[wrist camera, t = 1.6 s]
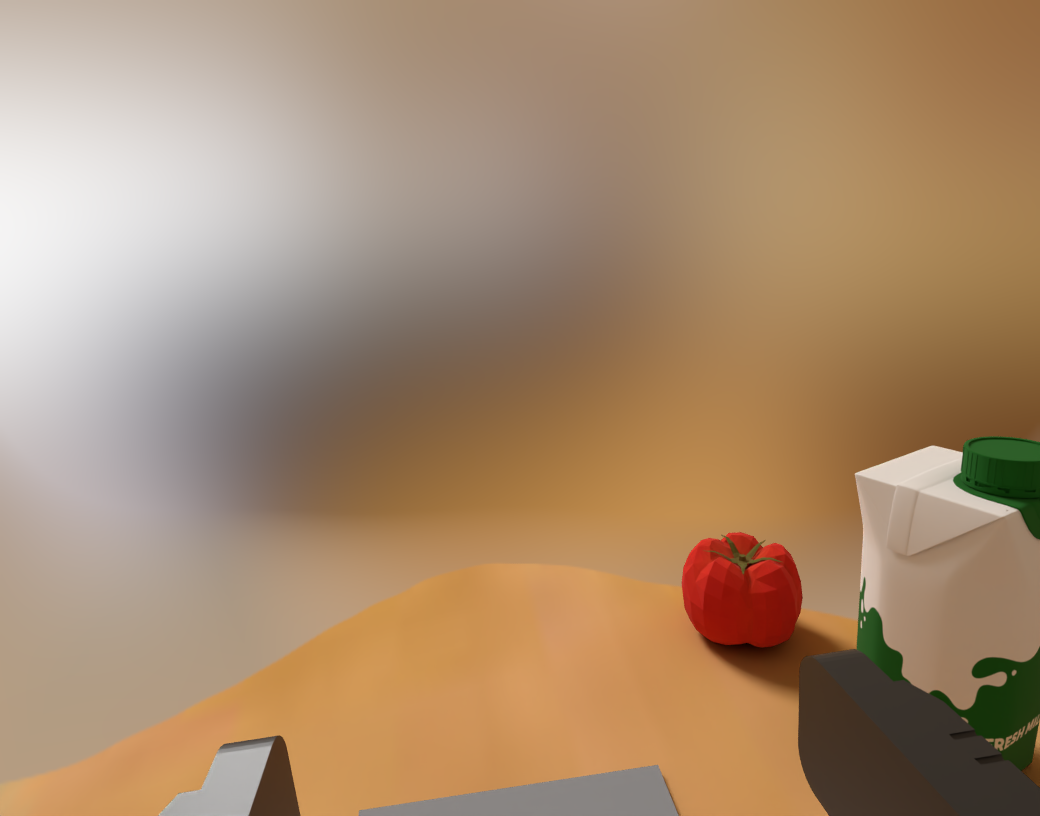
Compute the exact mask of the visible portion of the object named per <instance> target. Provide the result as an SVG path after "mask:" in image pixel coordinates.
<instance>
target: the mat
mask: <svg viewBox="0 0 1040 816" xmlns="http://www.w3.org/2000/svg"><path fill="white" fill-rule="evenodd" d="M359 816H679V815H678V813H677V811H676V808H675V806H674V803H673V801H672V798H671V796H670V793H669V791H668V788H667V786H666V784H665V781H664V779H663V776H662V774H661V771H660V769H659V766H658V765H654V766H648V767H641V768H635V769H628V770H621V771H615V772H608V773H602V774H595V775H589V776H582V777H576V778H569V779H563V780H556V781H549V782H543V783H536V784H530V785H523V786H517V787H510V788H504V789H497V790H490V791H484V792H477V793H471V794H464V795H458V796H451V797H445V798H438V799H432V800H425V801H418V802H412V803H405V804H399V805H392V806H386V807H379V808H373V809H366V810H359Z"/></svg>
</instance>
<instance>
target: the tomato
mask: <svg viewBox="0 0 1040 816" xmlns="http://www.w3.org/2000/svg"><path fill="white" fill-rule="evenodd" d="M722 536H723V535H722ZM763 542H764V541H763ZM763 542H760V543H758V541H757V540H756V539H755V538H754V536H750V535H748V534H744V533H741V532H740V533H728V534H727V535H726V536H724V538H723V539H722V540H721V541H720V540H718V539H712V538H708V539H704V540H701V541H700V542H699V543H698V544H697V545H696V546H695V547H694V549H693V550H692V551H691V552H690V554H689V556H688V558H687V560H686V563H685V565H684V568H683V576H682V590H683V598H684V606H685V610H686V612H687V614H688V616H689V618H690V620H691V622H692V624H693V625H694V627H695V628H696V630H697V631H699V632H700V633H701V634H702V635H703V636H705V637H706V638H708V639H709V640H711V641H712V642H716V643H720V644H724V645H735V644H743V643H750V644H751V645H753V646H756V647H773V646H775V645H778V644H780V643H783V642H785V641H787V640H789V638H790V636H791V635H792V633H793V631H794V627H795V623H796V621H797V619H798V617H799V614H800V611H801V604H802V589H801V581H800V578H799V575H798V571H797V568H796V565H795V563H794V560H793V558H792V556H791V554H790V553H789V552H788V551H787V550H786V549H785V548H784V547H783V546H782V545H780V544H777V543H773V544H771V545H767V546H765V547H764V548H763V547H762V546H761V544H762V543H763Z"/></svg>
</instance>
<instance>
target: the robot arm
mask: <svg viewBox="0 0 1040 816" xmlns="http://www.w3.org/2000/svg"><path fill="white" fill-rule="evenodd" d="M798 748H799V755H800V760H801V764H802V767H803V771H804V773H805V776H806V779H807V781H808V783H809V785H810V787H811V789H812V791H813V793H814V794H815V796H816V797H817V799H818V800H819V802H820V803H821V805H822V806H823V807H824V809H825V810H826V812H827V813H828V815H829V816H1040V788H1039V787H1038V786H1037V785H1036V784H1035V783H1034V782H1033V781H1031V780H1030V779H1029V778H1028V777H1027V776H1026V775H1025V774H1024V773H1023V772H1021V771H1020V770H1019V769H1018V768H1017V767H1016V766H1015V765H1014V764H1013V763H1011V762H1010V761H1009V760H1006V761H1005V760H1004V759H1003V757H1002V754H1001V753H1000V752H999V751H998V750H997V749H996V748H995V747H994V746H993V745H991V744H990V743H989V742H988V741H987V740H986V739H985V738H984V737H982V736H977V735H976V733H975V729H974V728H972V727H971V726H970V725H969V724H968V723H967V722H966V721H965V720H964V719H962V718H961V717H960V716H959V715H958V714H957V713H956V712H955V711H954V710H952V709H951V708H950V707H949V706H948V705H947V704H946V703H945V702H944V701H942V700H940V699H938V698H936V697H934V696H932V695H931V694H929V693H927V692H925V691H923V690H921V689H919V688H918V687H916V686H914V685H912V684H910V683H908V682H906V681H905V680H900V681H894V682H893V681H892V680H891V679H890V678H889V677H888V676H887V675H886V674H885V673H884V672H883V671H882V670H881V669H880V668H879V667H878V666H877V665H876V664H875V663H874V662H872V661H871V660H870V659H869V658H868V657H867V656H866V655H865V654H864V653H863V652H861V651H859V650H856V649H852V650H845V651H839V652H832V653H826V654H819V655H812V656H806V657H804V658H803V660H802V662H801V665H800V676H799V730H798ZM158 816H300V812H299V807H298V802H297V797H296V792H295V787H294V782H293V777H292V772H291V767H290V762H289V757H288V752H287V747H286V744H285V741H284V739H283V738H282V737H281V736H273V737H267V738H260V739H254V740H247V741H241V742H234V743H228V744H224V745H222V746H221V747H220V749H219V750H218V752H217V754H216V756H215V759H214V761H213V763H212V765H211V768H210V770H209V772H208V775H207V777H206V779H205V781H204V784H203V786H202V788H201V790H197V791H191V792H184V793H179V794H178V795H177V796H176V797H175V798H174V799H173V800H172V801H171V802H170V803H169V804H168V806H167V807H166V808H165V809H164V810H163V811H162V812H161V813H160V814H159V815H158Z"/></svg>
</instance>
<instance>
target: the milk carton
mask: <svg viewBox="0 0 1040 816" xmlns="http://www.w3.org/2000/svg"><path fill="white" fill-rule="evenodd" d="M855 477H856V483H857V489H858V494H859V501H860V508H861V513H862V521H863V532H864V533H863V550H862V566H861V585H860V601H859V618H858V635H857V650H859V651H861V652H863V653H864V654H865V655H866V656H867V657H868V658H869V659H870V660H871V661H872V662H874V663H875V664H876V665H877V666H878V667H879V668H880V669H881V670H882V671H883V672H884V673H885V674H886V675H887V676H888V677H889V678H890V679H891V680H892V681H893V682H894V681H900V680H905V681H906V682H908V683H910V684H912V685H914V686H916V687H918V688H919V689H921V690H923V691H925V692H927V693H929V694H931V695H932V696H934V697H936V698H938V699H940V700H942V701H944V702H945V703H946V704H947V705H948V706H949V707H950V708H951V709H952V710H954V711H955V712H956V713H957V714H958V715H959V716H960V717H961V718H962V719H964V720H965V721H966V722H967V723H968V724H969V725H970V726H971V727H972V728H974V729H975V733H976V735H977V736H982V737H984V738H985V739H986V740H987V741H988V742H989V743H990V744H991V745H993V746H994V747H995V748H996V749H997V750H998V751H999V752H1000V753H1001V754H1002V757H1003V759H1004V760H1005V761H1006V760H1009V761H1010V762H1011V763H1013V764H1014V765H1015V766H1016V767H1017V768H1018V769H1019V770H1020V771H1022V770H1023V769H1024V768H1025V767H1026V766H1028V765H1029V764H1030V763H1032V759H1033V753H1034V748H1035V742H1036V737H1037V731H1038V726H1039V720H1040V442H1036V441H1032V440H1027V439H1021V438H1013V437H979V438H974V439H970V440H968V441H966V442H965V444H964V447H963V452H958V451H954V450H950V449H945V448H941V447H937V446H930V447H927V448H924V449H922V450H919V451H916V452H913V453H910V454H907V455H905V456H902V457H899V458H896V459H894V460H891V461H888V462H885V463H882V464H880V465H877V466H874V467H871V468H868V469H866V470H863V471H860V472H857V473H855Z"/></svg>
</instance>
